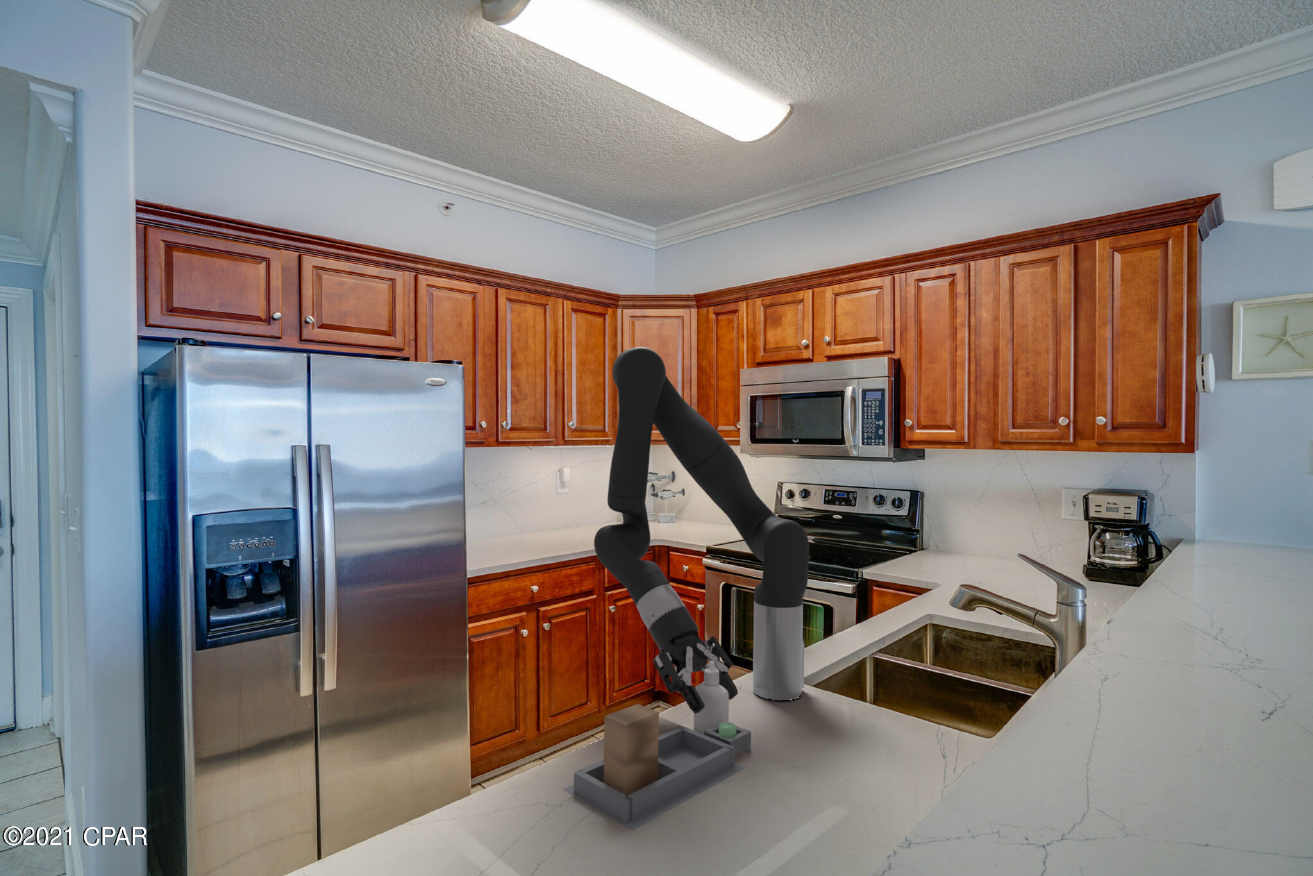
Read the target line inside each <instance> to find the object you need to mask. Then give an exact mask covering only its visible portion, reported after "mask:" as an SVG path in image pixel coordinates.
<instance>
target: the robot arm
mask: <svg viewBox="0 0 1313 876" xmlns="http://www.w3.org/2000/svg"><path fill="white" fill-rule="evenodd" d="M611 372H612V374H611V375H612V380H613V383H614V384H615V387H616V388H617V393H618V423H617V432H616V438H615V442H614V447H613V452H612V456H611V462H610V469H609V470H610V471H609V478H608V479H609V480H608V488H607V489H608V490H607V491H608V492H607V500H606V501H607V505H608V508H609V509H610V510H612V511H613V512H617V513H621V515H622V523H617V524H608V525H605V526H602V527H600V528H599V529H598V530H597V532H596V533H595V535H594V539H593V547H594V551H595V554H596V557H597V559H598V560H599V561H600V563H601V564H602V566H603V567H604V568H605V569H607V570H608V572H609V573H610V574H611V575H612V577H615V579H616V580H617V581H618V582H619V583H620V584H621V585H622V586H623V587H624V588H626V590H627V592H628V594H629V596H630V598H631V599H632V601H633V603H634V605H635V606H636V609H637V610H638V613H639V615H640V618H641V620H642V622H643V623H644V625H645V626H646V628H647V631H648V632H649V634H650V636H651V637H652V639H653V641H654V642H655V644H656V646H657V648H658V650H659V653H658V654H657V655H656V656H655V658H654V659H653V660H652V662H653V665H654V667H655V669H656V670H657V673H658V675H659V676H660V678H661V681H662V682H663V684H664V686H665V687H666V690H667V691H668V692H669V693H671V694H672V693H674V692H677V693H678V694H681V695H682V697H683V699H684V701H685V703H686V704H687V706H688V708H689V709H690V710H691V711H692V712H693V714H694V713H695V714H696V713H699V712H700V711H701V710H702V709H704V707H705V705H704V703H703V701H702V699H701V698H700V696H699V694H698V692H697V691H696V689H695V688H696V686H694V685H692V674H693V673H697V672H702V673H704V670H705V669H707V668H708V667H709V663H710V661H713V662H714V665H715V668H716V669H718V670H719V685H721V686H722V687H724V688H725V689H726V690H727V691H728V694H729V701H731V700H732V699H734V698H735V697H736V696H737V695H738V694H739V691H738V688H737V685H736V684H735V682H734V681H733V679H732V678H731V676H730V674H729V670H730V668H732V667H733V666H734V665H733V662H732V660H731V659H730V657H729V656H728V654H727V653H726V651H725V650H724V649H723V647H722V645H721V643H720V642H719V641H718V639H717V637H716V636H713V635H711V636H710V638H708V639H706V640H705V641H704V640H703V639H702V638H701V637H700V636H699V626H698V625H697V623H696V622H695V619H694V618H693V617H692V615H691V613H690V612H689V610H688V609H687V607H686V604H684V602H683V600H682V598H681V597H680V596H679V594H678V593H677V592H676V591H675V589H674V588H673V587H672V585H671V584H670V582H669V581H668V578H667V577H666V575H665V574H664V572H663V571H662V569H661V568H660V566H659V565H658V564H657V563H656V562H654V561H652V560H645V559H643V558H644V556H646V554H647V552H648V550H649V548H650V545H651V531H650V523H649V517H648V512H647V506H646V500H647V499H646V498H647V488H648V481H649V469H650V456H651V455H650V453H651V442H652V435H653V427H654V426H655V427H656V429H657V431H658V432H659V434H660V435H661V437H662V438H663V440H664V441H665V443H666V445H667V446H668V448H669V449H670V450H671V452H672V454H673V455H674V456H675V457H676V459H677V460H678V461H679V463H680V465H682V467H683V468H684V470H686V472H687V473H688V475H690V476H691V478H692V479H693V481H695V483H696V484H697V485H698V486H699V487H700V488H701V489H702V490H703V492H704V493H705V494H706V495H707V496H708V497H709V499H710V500H711V501H713V503H714V504H715V505H716V506H717V507H718V508H719V509H720V510H721V511H722V512H723V513H724V514H725V515H726V516H727V518H728V519H729V520H730V522H731V524H733V526H734V527H735V529H736V530H737V532H738V534H739V535H740V536H741V538H742V539H743V541H744V542H745V544H746V546H747V547H748V549H749V551H750V552H751V553H752V554H753V556H754V557H756V559H758V560H759V561H761V562H763V564H762V565H763V567H762V578H761V581H760V583H759V584H756V586H755V587H754V591H753V650H752V651H753V652H752V653H753V654H752V657H753V660H752V661H753V662H752V667H753V668H752V671H753V672H752V675H753V676H752V692H753V693H754V694H755V696H757V695H758V696H757V697H759V696H760V698H762V697H763V698H762V699H765V698H766V699H765V700H768V699H772V700H771V701H775V700H781V701H780V702H783V701H782V700H790V699H795V698H797V697H799V696H800V695H801V694H803V691H802V688H804V689H805V641H804V639H803V637H804V635H803V634H804V633H803V632H804V631H803V630H804V627H803V626H804V622H803V621H804V619H803V618H804V617H803V615H804V594H805V593H806V591H807V587H808V579H809V564H810V543H809V537H808V534H807V532H806V530H805V529H804V527H803V526H802V525H801V524H800V523H798V522H796V521H794V520H790V519H786V518H782V517H779V516H778V515H776V514H775V513H774V511H772V510H771V509H770V508H769V507H768V506H767V504H765V502H764V501H763V500H762V499H761V497H759V495H757V493H756V491H755V489H753V486H752V484H751V483H750V482H751V481H750V480H749V477H748V475H747V472H746V470H745V467H744V465H743V463H742V461H741V459H740V458H739V456H738V455H737V453H736V452H735V451H734V449H733V448H732V447H731V445H730V444H729V443H728V442H727V441H726V439H725V438H724V437H723V436H722V435H721V433H719V431H718V430H717V429H716V428H715V427H714V426H713V425H712V424H711V423H710V422H709V421H707V420H706V419H705V418H704V417H703V416H702V415H701V414H700V413H699V412H698V411H696V410H695V409H694V407H692V406H691V405H690V404H689V403H687V401H686V400H685V399H684V398H683V397H682V396H681V395H680V393H679V391H677V389H676V388H675V386H674V385H673V384H672V382H671V380H670V379H669V377H668V376H667V375H666V373H667V372H666V365H665V363H664V360H663V359H662V357H661V356H660V355H659V354H658V353H657V352H656V351H655V350H653V349H651V348H648V347H644V346H637V347H636V346H635V347H632V348H628V349H624V351H622V352H621V353H620V354H619V355H617V356H616V359H615V360H614V362H613V365H612V371H611ZM720 659H721V660H722V661H723V663H722V661H721V660H720ZM708 661H709V662H708ZM801 696H802V695H801ZM795 700H796V699H795ZM790 701H791V700H790Z"/></svg>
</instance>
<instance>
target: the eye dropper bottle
mask: <svg viewBox="0 0 1313 876" xmlns="http://www.w3.org/2000/svg"><path fill="white" fill-rule="evenodd" d="M709 662H710V663H709V667H708V668H707V669H705V670H704V672H703V682H701V683H699V684H698V685H696V686H695V689H696V691H697V692H698V694H699V696H700V698H701V699H702V701H703V703H704V705H705V707H704V709H702V710H701V711H700V712H699V713H696V714H695V713H694V712H693V731H696V732H698V733H701V734H703V735H704V731H705V730H707V729H710V728H712V727H714V726H716V725H718V724H720V723H723V722H729V720H730V719H729V717H730V716H729V715H730V714H729V713H730V709H729V708H730V707H729V706H730V700H729V694H728V691H727V690H726V689H725V688H724V687H722V686H721V685H719V670H718V669H717V668H716V667H715V665H714V662H713V661H709ZM729 723H730V722H729Z"/></svg>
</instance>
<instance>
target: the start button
mask: <svg viewBox="0 0 1313 876" xmlns="http://www.w3.org/2000/svg"><path fill="white" fill-rule="evenodd" d="M736 726H737V725H736V724H735V723H733V722H724V723H720V724H719V734H721V735H723V736H726V737H728V738H730V737H732V736H734V735H736Z"/></svg>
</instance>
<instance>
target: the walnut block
mask: <svg viewBox="0 0 1313 876" xmlns="http://www.w3.org/2000/svg"><path fill="white" fill-rule="evenodd" d="M659 715H660V712H659V711H657V710H654V709H651V708H649V707H647V706H644V705H641V704H639V703H636V704H634V705H632V706H631V705H630V706H628V707H625V708H623V709H620V710H618V711H614V712H612V713H609V714H607V715H605V716H604V723H603V724H604V725H603V726H604V727H603V728H604V730H603V731H604V732H603V734H604V735H603V736H604V738H603V739H604V740H603V743H604V745H603V760H604V783H605V784H606V785H608V786H610V787H612V788H614V789H615V790H617V791H619V792H621V793H623V794H624V795H626V796H628V795H630V794H632V793H634V792H636V791H638V790H640V789H642V788H644V787H646V786H648V785H650V784H652V783H654V782H656V781H658V736H660V735H659V728H660V727H659V726H660V725H659V723H660V719H659V717H660V716H659Z"/></svg>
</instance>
